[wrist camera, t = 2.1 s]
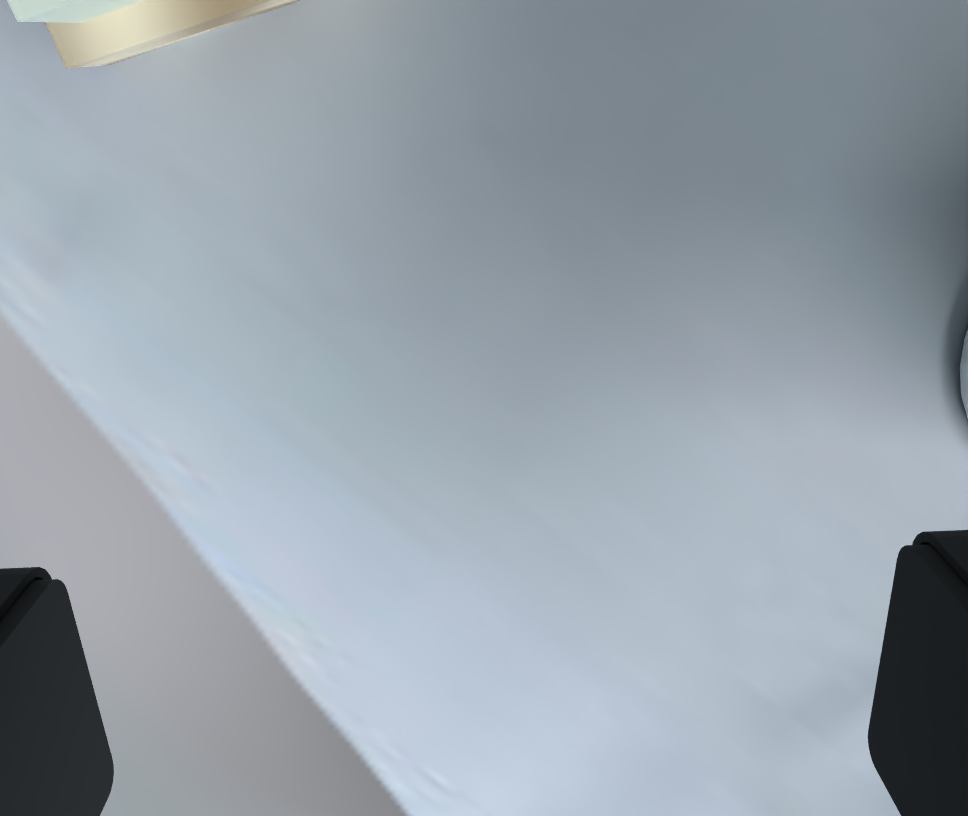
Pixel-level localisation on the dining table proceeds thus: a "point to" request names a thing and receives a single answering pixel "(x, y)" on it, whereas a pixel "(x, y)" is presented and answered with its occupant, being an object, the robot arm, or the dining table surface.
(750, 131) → the dining table surface
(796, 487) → the dining table surface
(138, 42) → the tower base block
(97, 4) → the tower top block
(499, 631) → the dining table surface
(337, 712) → the dining table surface
